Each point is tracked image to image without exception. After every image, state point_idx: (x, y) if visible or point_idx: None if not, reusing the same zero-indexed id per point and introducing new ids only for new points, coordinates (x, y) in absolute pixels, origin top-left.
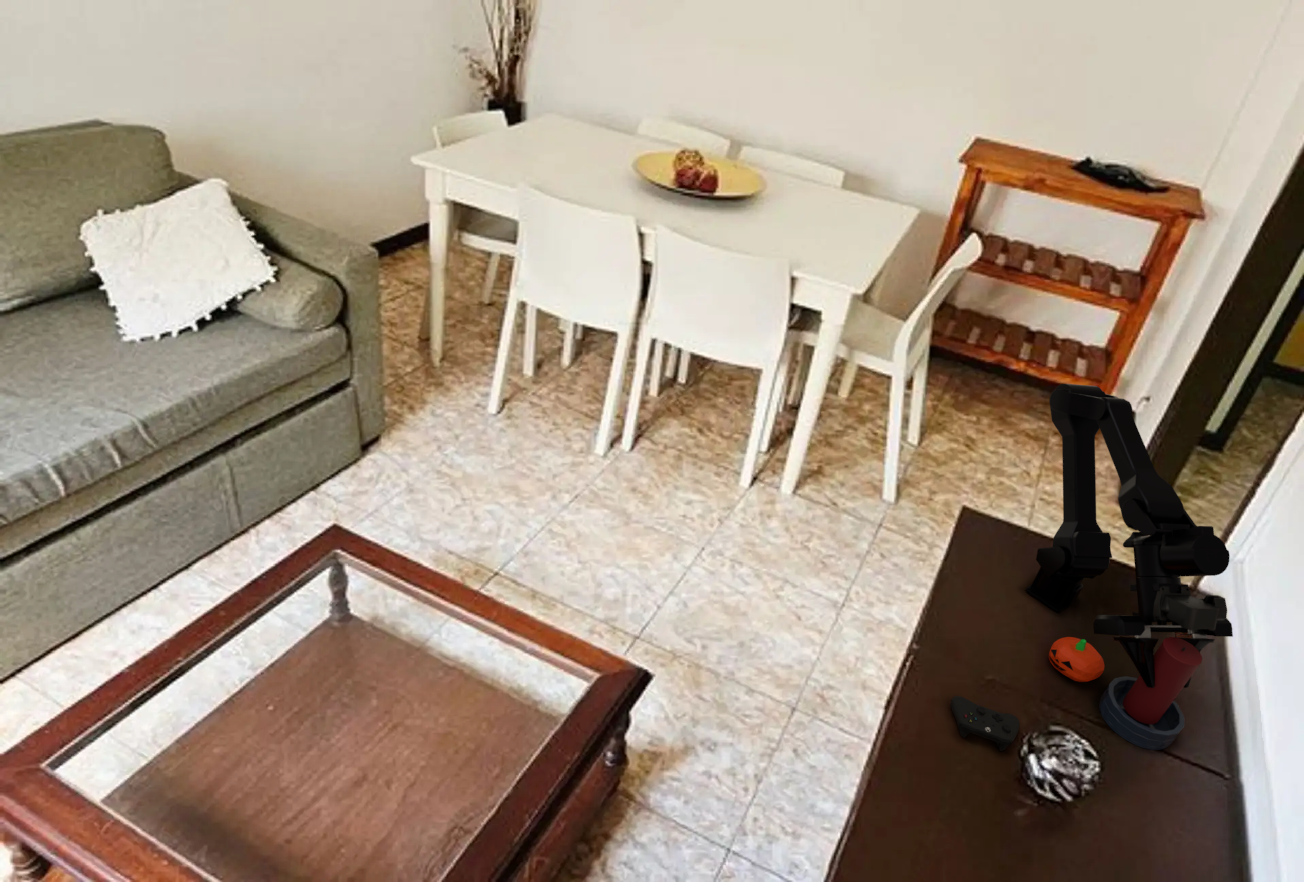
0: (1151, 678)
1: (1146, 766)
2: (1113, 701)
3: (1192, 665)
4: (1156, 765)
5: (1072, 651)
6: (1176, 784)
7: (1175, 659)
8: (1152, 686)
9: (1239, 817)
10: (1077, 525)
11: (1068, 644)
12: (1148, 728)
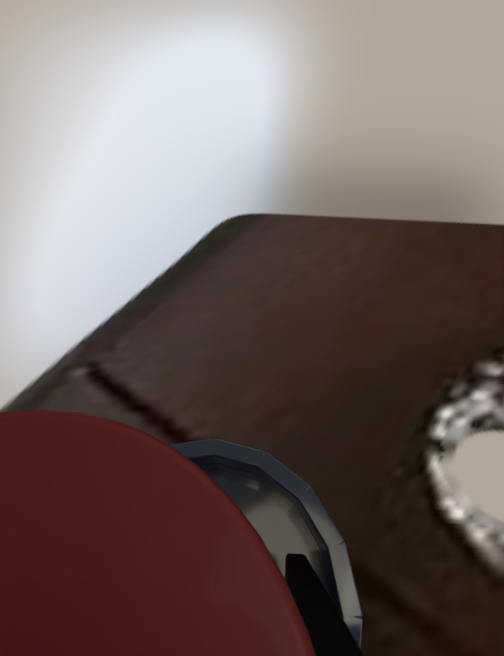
0: (322, 601)
1: (290, 410)
2: (355, 639)
3: (77, 412)
4: (258, 411)
5: None
6: (241, 358)
7: (273, 564)
8: (304, 556)
9: (153, 285)
10: None
11: None
12: (273, 470)
